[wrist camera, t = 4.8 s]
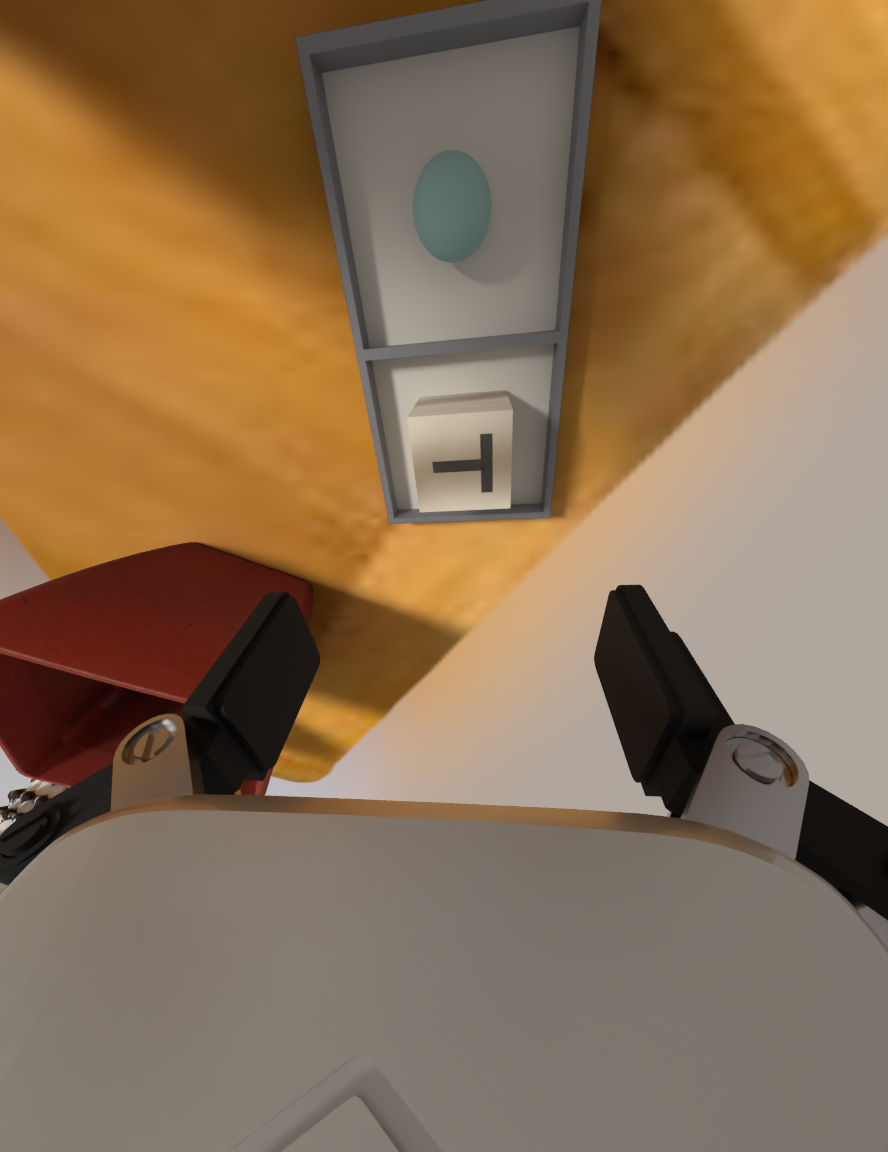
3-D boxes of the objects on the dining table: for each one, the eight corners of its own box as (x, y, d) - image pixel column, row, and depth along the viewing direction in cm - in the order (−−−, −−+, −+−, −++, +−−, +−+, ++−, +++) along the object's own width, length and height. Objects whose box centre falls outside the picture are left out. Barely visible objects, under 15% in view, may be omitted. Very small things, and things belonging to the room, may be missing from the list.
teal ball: (413, 171, 19) (401, 142, 16) (489, 159, 19) (492, 128, 15) (422, 269, 21) (413, 263, 18) (490, 261, 21) (493, 253, 18)
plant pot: (145, 494, 32) (-92, 628, 19) (352, 568, 36) (276, 727, 22) (161, 631, 43) (18, 778, 30) (318, 678, 46) (254, 829, 33)
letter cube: (419, 396, 25) (406, 417, 21) (506, 390, 25) (513, 409, 20) (429, 478, 29) (419, 512, 24) (504, 474, 28) (510, 508, 24)
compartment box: (311, 62, 17) (295, 37, 16) (591, 10, 16) (603, -23, 14) (393, 513, 32) (389, 524, 30) (545, 506, 30) (549, 517, 29)
